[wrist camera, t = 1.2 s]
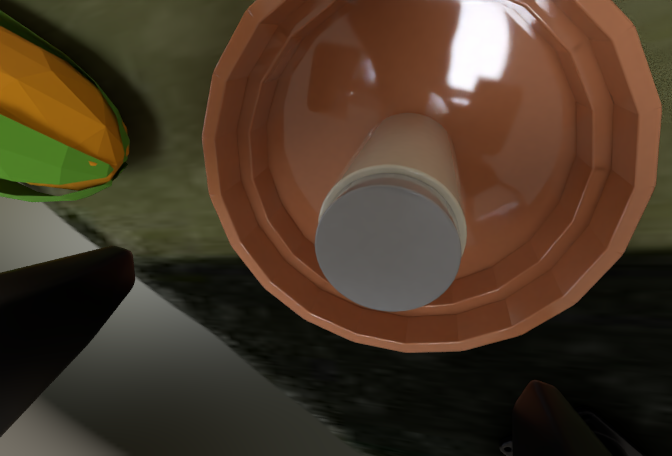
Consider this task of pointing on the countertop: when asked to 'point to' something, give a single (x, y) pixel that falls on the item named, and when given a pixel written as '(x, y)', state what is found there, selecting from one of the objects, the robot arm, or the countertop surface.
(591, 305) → the countertop surface
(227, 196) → the bowl
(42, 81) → the corn
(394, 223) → the cylinder
